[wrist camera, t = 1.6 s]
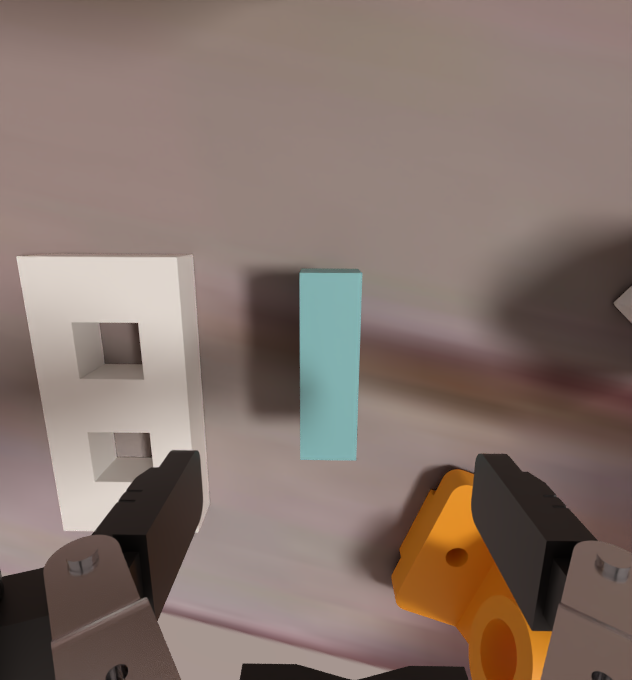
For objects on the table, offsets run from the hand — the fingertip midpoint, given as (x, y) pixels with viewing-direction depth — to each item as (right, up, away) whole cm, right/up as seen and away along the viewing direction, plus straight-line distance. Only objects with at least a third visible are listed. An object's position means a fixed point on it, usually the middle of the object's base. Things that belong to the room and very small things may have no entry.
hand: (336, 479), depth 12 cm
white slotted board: (-13, +1, +16) cm, 21 cm away
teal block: (0, +4, +15) cm, 16 cm away
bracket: (+10, -10, +19) cm, 24 cm away
